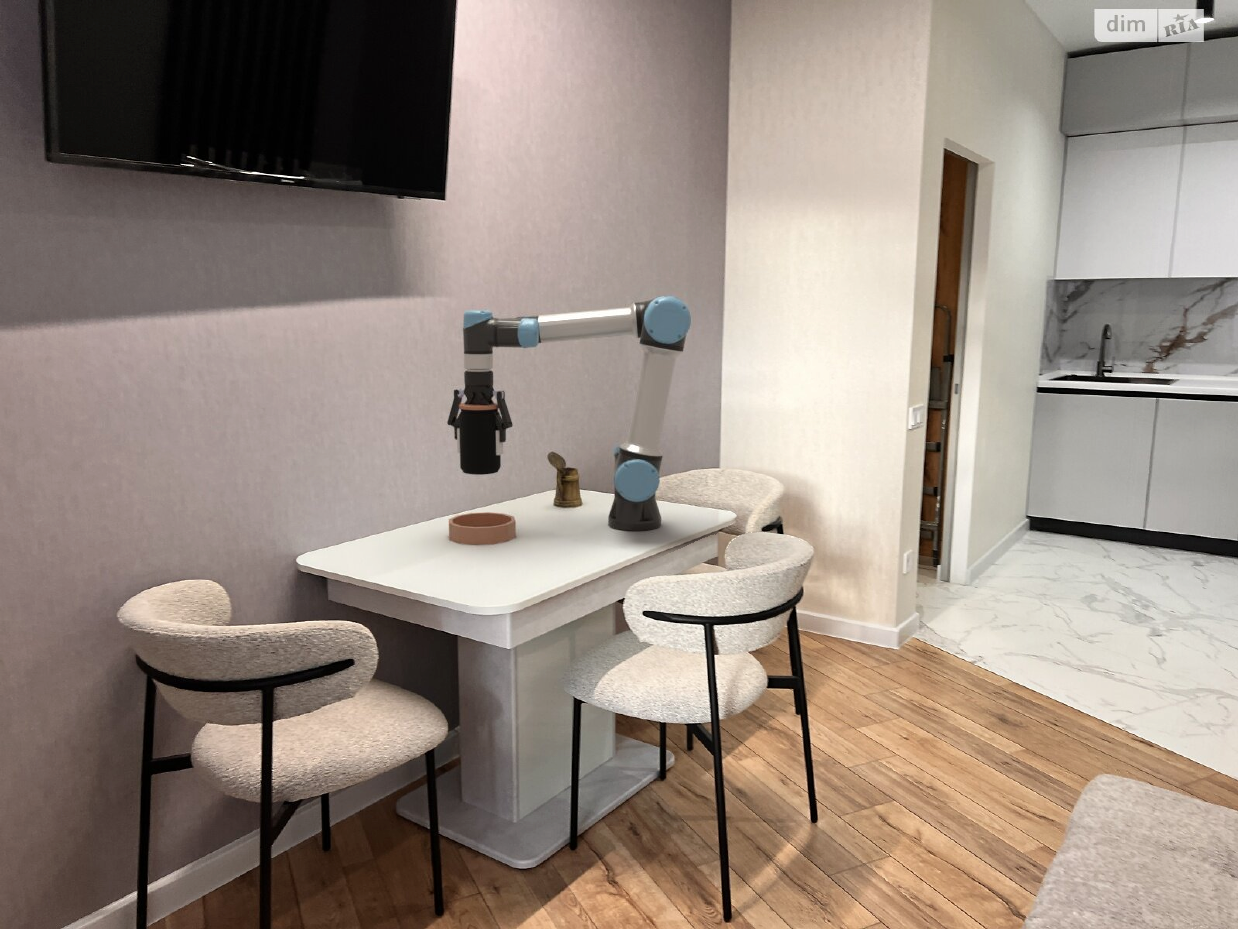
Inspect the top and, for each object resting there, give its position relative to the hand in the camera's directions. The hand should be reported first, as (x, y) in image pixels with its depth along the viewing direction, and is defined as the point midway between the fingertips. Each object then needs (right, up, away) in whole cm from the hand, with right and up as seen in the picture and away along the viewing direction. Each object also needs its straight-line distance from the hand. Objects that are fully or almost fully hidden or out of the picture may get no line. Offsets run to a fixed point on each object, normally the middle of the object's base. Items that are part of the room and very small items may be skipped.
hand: (480, 453), depth 249 cm
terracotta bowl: (0, -22, +4) cm, 23 cm away
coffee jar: (0, -5, +1) cm, 5 cm away
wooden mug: (+20, -16, +41) cm, 48 cm away
